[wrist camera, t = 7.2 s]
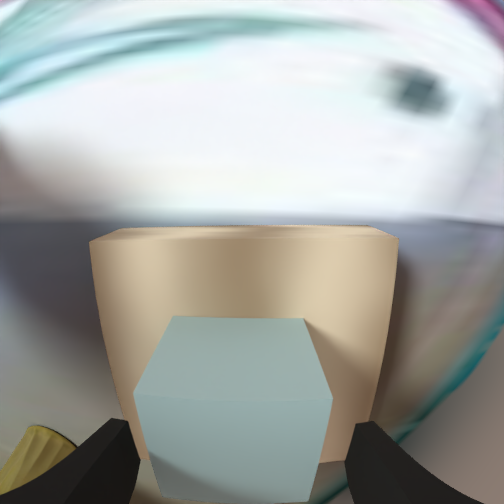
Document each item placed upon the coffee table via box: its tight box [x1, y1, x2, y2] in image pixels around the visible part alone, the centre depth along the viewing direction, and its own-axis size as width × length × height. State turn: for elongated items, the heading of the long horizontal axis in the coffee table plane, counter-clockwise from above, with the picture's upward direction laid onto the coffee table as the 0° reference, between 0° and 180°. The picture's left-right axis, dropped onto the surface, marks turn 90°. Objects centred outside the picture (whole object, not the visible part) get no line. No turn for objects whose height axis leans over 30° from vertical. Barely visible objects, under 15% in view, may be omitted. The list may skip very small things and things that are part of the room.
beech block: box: [89, 225, 399, 463], centre depth 15 cm, size 12×12×4 cm
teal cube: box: [133, 316, 333, 504], centre depth 10 cm, size 5×5×5 cm
